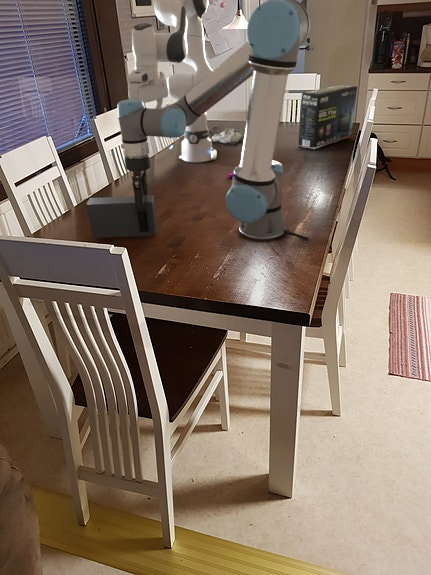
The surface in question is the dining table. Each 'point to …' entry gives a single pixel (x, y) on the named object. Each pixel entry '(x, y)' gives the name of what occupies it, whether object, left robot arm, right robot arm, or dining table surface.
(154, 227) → the box
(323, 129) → the router box
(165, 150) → the dining table surface
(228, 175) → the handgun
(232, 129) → the fossil
